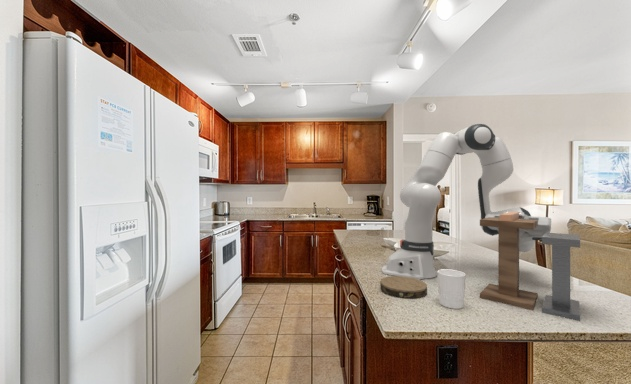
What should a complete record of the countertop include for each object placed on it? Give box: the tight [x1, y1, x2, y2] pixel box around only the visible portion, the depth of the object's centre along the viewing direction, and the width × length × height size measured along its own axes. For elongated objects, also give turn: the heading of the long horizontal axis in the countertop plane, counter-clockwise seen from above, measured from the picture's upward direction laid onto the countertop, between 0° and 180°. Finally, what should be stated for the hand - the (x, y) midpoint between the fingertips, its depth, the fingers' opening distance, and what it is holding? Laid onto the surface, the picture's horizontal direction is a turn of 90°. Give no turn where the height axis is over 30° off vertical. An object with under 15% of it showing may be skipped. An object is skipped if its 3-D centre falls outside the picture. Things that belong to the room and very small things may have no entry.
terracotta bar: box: [500, 211, 519, 221], centre depth 95 cm, size 22×3×2 cm, turn 137°
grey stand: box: [541, 232, 581, 322], centre depth 82 cm, size 14×8×22 cm, turn 137°
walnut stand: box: [479, 217, 539, 311], centre depth 91 cm, size 14×14×26 cm
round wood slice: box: [380, 275, 428, 300], centre depth 98 cm, size 16×16×3 cm
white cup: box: [436, 268, 467, 310], centre depth 85 cm, size 8×8×10 cm
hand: (513, 213), depth 99 cm, fingers closed on terracotta bar, 3 cm apart
